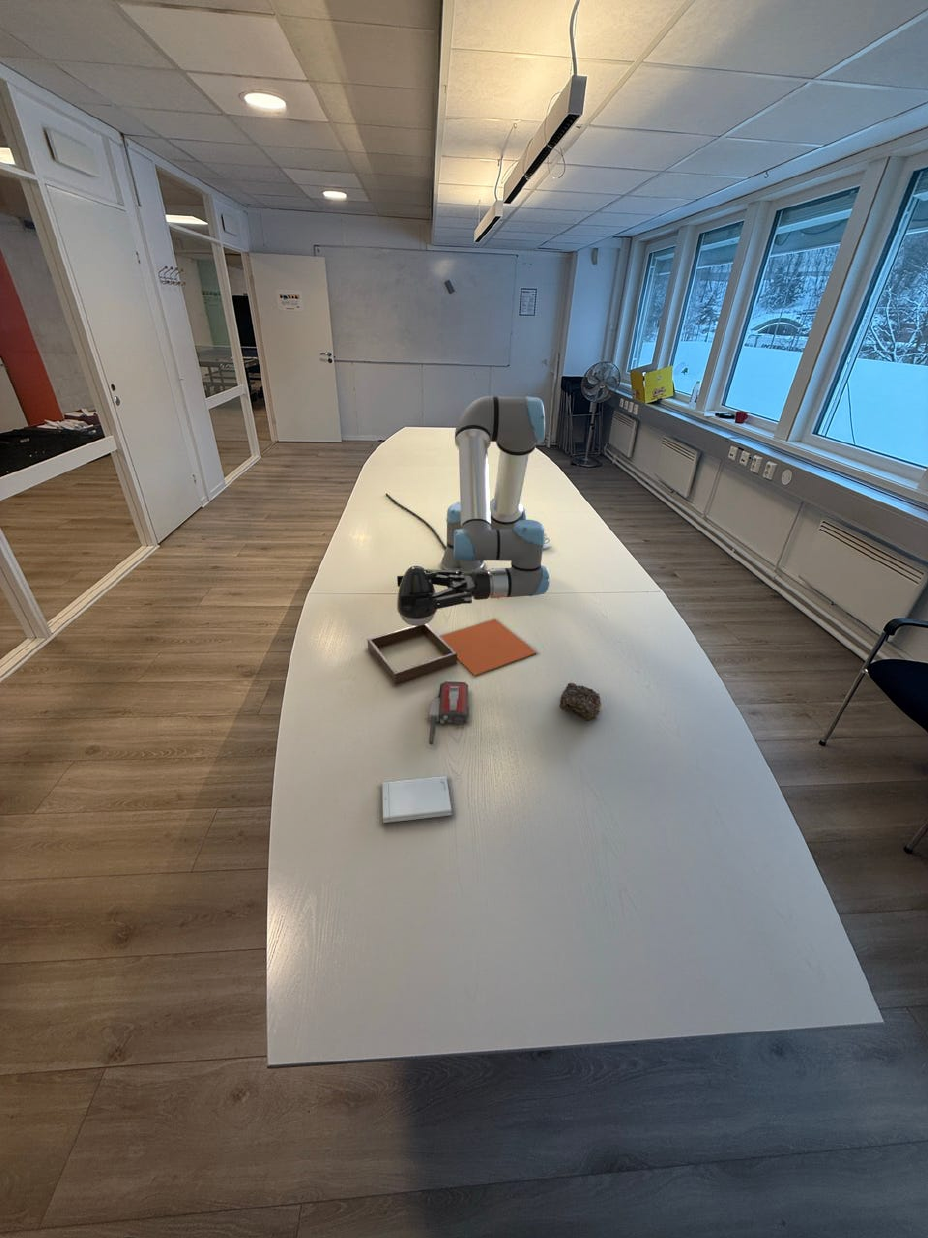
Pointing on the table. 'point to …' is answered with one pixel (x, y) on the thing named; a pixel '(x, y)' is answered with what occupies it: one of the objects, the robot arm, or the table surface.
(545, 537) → the teacup
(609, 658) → the table surface
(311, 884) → the table surface
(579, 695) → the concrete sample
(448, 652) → the brown wooden square frame
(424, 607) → the pump dispenser
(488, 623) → the mat
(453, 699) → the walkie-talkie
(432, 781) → the hard drive
